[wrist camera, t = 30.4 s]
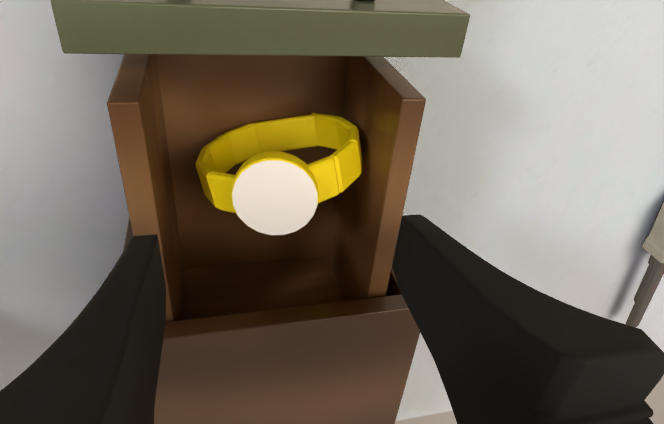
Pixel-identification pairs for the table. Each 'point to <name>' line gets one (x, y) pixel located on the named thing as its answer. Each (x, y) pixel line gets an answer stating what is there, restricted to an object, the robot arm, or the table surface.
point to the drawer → (256, 106)
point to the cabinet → (289, 364)
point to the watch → (279, 170)
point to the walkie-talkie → (650, 270)
